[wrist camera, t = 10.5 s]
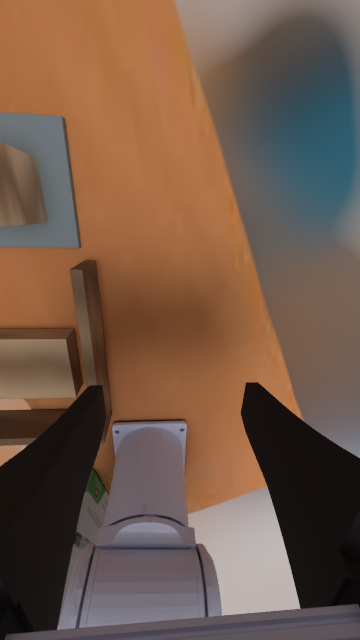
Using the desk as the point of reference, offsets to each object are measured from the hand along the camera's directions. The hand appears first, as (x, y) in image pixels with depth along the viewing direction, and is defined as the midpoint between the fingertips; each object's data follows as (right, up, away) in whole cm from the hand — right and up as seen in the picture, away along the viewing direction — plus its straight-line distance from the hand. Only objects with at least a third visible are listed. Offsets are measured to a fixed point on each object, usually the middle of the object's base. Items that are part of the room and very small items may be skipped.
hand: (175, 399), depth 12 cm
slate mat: (-11, +13, +5) cm, 18 cm away
